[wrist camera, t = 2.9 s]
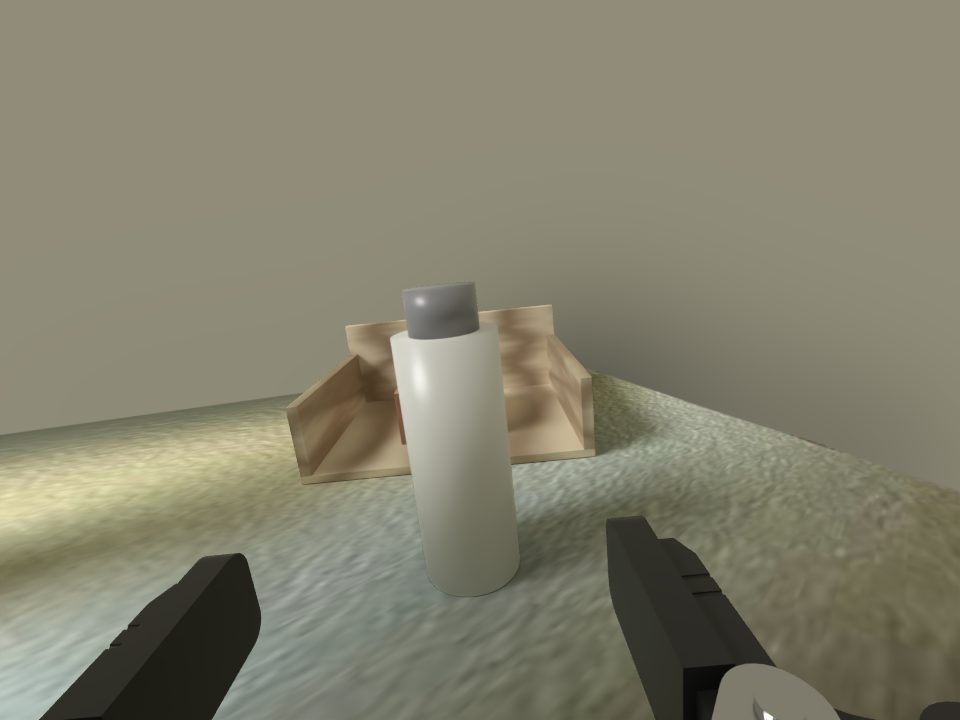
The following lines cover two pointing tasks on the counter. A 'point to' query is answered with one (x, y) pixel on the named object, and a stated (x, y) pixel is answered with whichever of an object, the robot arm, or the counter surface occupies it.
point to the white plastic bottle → (457, 439)
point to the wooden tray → (377, 411)
